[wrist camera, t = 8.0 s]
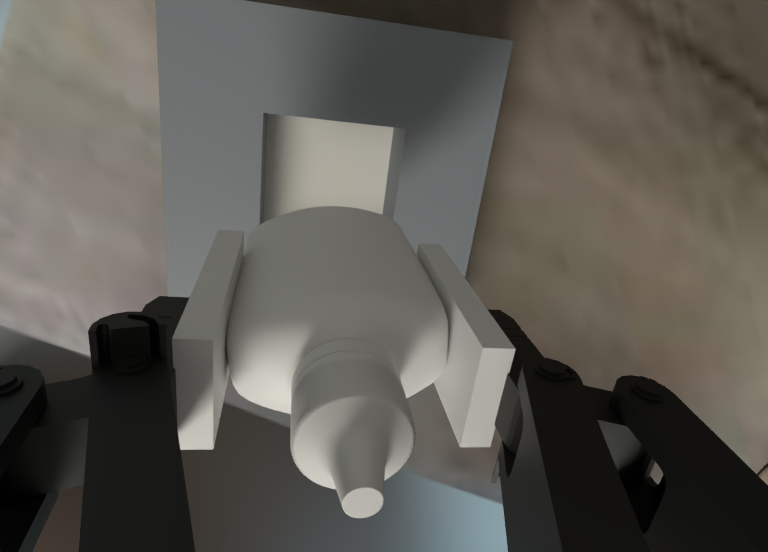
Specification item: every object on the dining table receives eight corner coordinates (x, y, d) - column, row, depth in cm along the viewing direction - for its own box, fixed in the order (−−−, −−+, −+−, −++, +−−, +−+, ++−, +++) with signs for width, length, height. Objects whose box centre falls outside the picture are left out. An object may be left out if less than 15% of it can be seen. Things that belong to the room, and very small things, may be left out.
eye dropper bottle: (365, 321, 21) (438, 615, 10) (232, 268, 19) (148, 556, 8) (417, 228, 20) (565, 451, 9) (280, 162, 18) (254, 342, 7)
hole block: (178, -4, 22) (155, -14, 19) (483, 41, 25) (513, 40, 21) (187, 319, 29) (170, 359, 25) (430, 329, 31) (446, 366, 28)
